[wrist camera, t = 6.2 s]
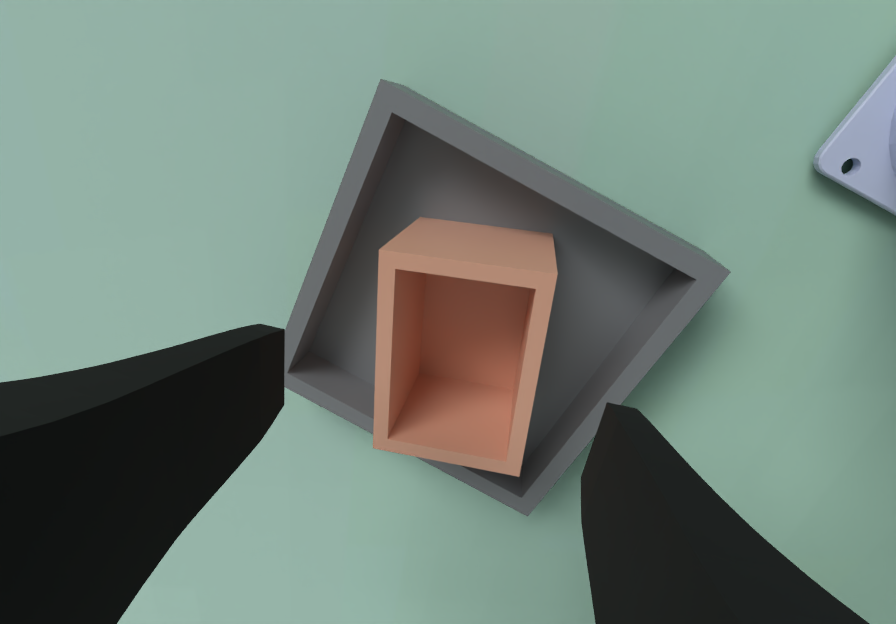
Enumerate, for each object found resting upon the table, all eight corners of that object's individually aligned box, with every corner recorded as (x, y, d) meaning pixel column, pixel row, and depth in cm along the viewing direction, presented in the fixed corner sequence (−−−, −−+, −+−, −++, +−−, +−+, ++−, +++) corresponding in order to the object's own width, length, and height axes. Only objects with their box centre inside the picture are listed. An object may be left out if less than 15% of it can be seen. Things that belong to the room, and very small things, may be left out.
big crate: (703, 250, 17) (730, 272, 14) (528, 473, 22) (527, 516, 20) (403, 84, 17) (380, 78, 14) (296, 349, 22) (267, 377, 19)
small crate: (552, 233, 17) (557, 274, 12) (523, 395, 20) (519, 476, 15) (420, 216, 18) (379, 249, 13) (410, 375, 20) (373, 448, 16)
